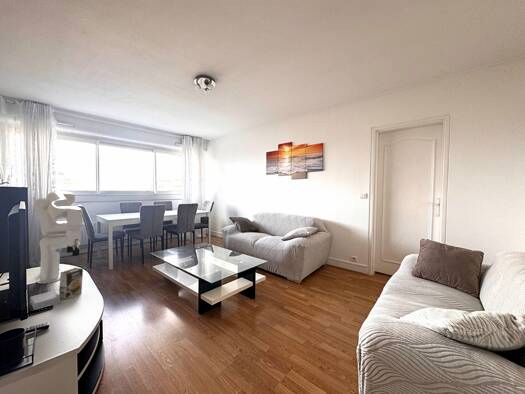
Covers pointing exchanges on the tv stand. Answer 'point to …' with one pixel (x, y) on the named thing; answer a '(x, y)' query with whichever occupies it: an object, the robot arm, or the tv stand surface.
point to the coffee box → (70, 283)
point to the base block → (45, 299)
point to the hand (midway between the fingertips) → (72, 254)
